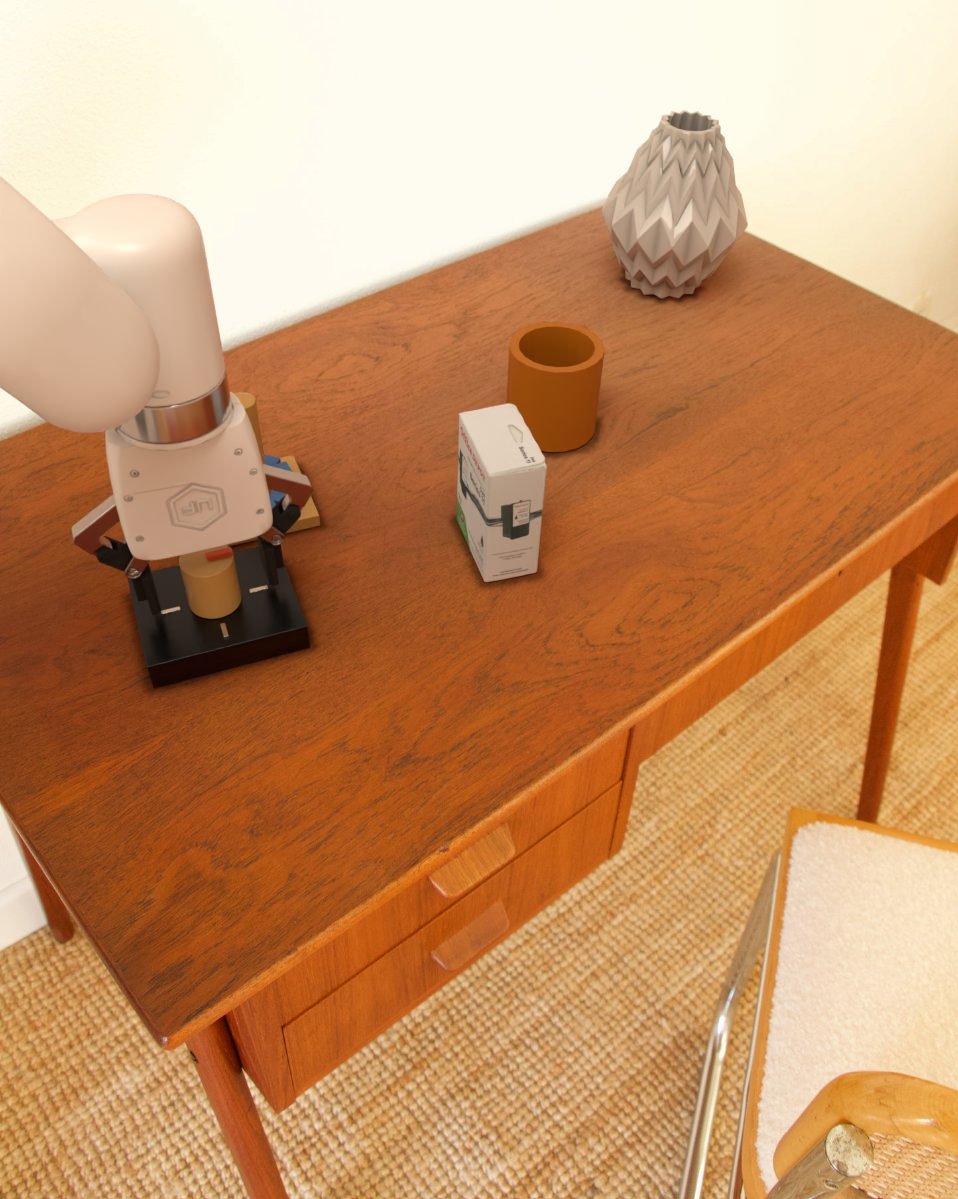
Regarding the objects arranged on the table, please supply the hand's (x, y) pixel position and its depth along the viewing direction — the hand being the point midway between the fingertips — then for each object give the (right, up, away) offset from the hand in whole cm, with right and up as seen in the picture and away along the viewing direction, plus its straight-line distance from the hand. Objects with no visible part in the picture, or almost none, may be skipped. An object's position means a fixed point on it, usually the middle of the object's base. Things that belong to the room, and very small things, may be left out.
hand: (212, 587), depth 78 cm
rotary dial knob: (0, -1, +1) cm, 1 cm away
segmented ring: (0, +8, +12) cm, 14 cm away
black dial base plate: (0, -3, +3) cm, 4 cm away
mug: (+28, +17, +23) cm, 41 cm away
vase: (+42, +37, +43) cm, 71 cm away
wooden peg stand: (+1, +7, +13) cm, 15 cm away
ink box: (+22, +4, +10) cm, 24 cm away
